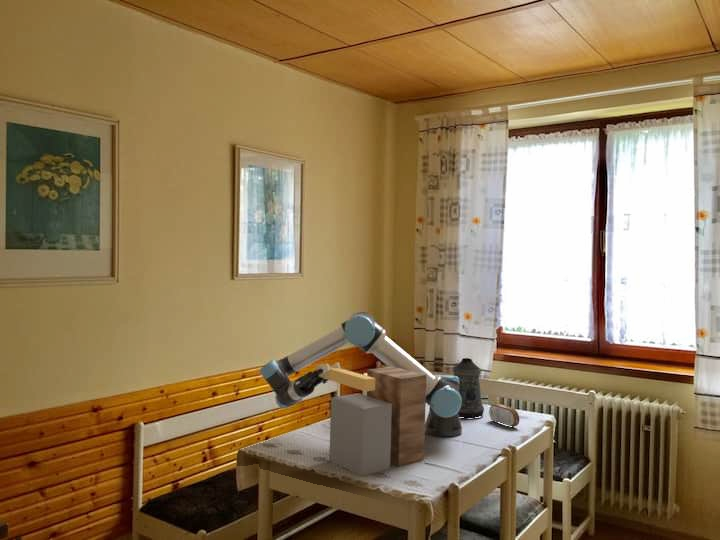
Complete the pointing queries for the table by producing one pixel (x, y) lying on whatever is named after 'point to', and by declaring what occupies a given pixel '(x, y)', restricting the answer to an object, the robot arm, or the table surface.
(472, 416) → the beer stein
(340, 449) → the grey base
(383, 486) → the table surface
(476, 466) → the table surface
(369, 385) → the ochre bar
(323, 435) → the table surface
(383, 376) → the walnut pedestal
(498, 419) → the tin
